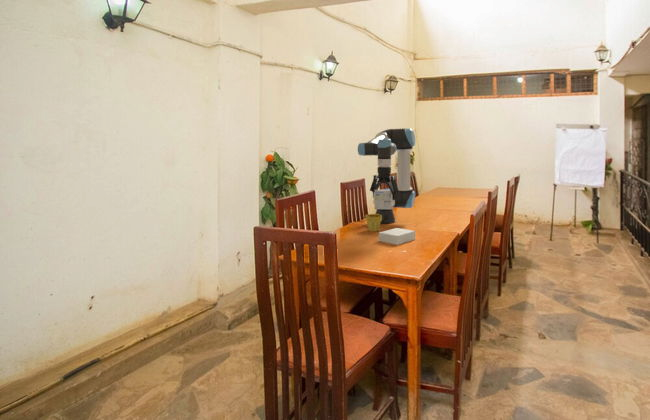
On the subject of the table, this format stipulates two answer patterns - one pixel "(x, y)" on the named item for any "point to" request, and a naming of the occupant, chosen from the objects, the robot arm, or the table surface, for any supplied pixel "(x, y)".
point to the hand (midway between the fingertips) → (383, 204)
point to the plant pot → (373, 221)
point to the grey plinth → (396, 236)
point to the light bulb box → (383, 199)
